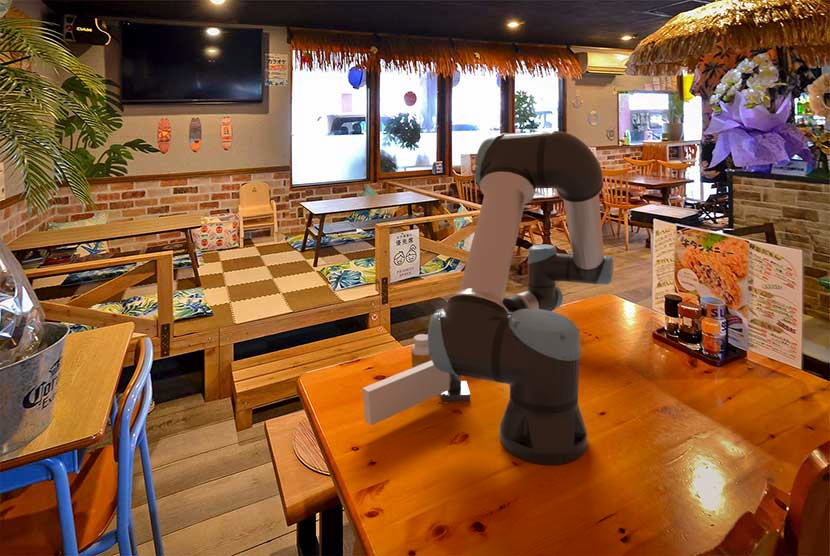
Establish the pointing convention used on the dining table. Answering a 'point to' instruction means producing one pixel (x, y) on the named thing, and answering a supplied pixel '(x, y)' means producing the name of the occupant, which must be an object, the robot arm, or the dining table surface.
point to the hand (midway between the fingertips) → (451, 331)
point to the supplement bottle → (420, 350)
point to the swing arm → (403, 391)
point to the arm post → (456, 390)
